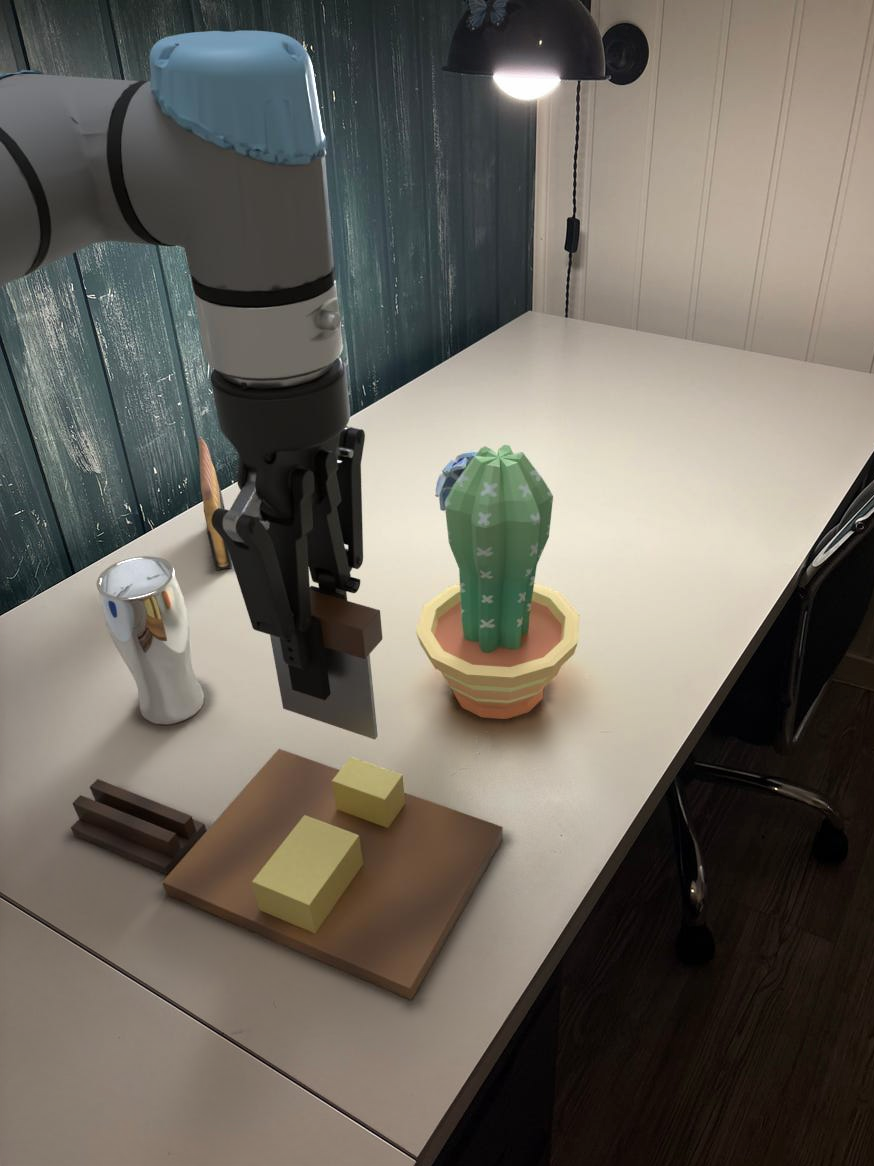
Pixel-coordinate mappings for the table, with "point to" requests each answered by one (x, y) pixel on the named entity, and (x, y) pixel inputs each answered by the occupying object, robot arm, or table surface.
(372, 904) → the board
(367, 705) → the cleaver
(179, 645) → the beer glass
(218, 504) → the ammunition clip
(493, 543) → the potted cactus
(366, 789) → the butter pat
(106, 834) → the knife holder
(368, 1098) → the table surface
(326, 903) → the butter
